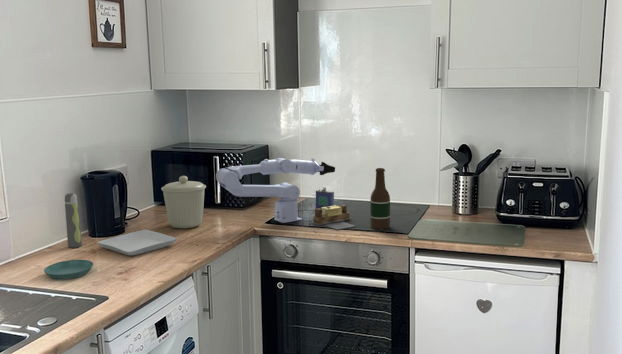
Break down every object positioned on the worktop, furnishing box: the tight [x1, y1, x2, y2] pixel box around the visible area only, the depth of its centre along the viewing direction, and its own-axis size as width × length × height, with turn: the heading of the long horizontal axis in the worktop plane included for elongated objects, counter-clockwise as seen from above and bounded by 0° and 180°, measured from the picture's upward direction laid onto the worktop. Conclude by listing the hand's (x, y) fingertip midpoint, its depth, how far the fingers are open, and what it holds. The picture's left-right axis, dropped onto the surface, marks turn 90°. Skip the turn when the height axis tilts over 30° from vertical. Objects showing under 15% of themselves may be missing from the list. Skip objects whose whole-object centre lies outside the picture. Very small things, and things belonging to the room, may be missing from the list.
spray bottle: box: [64, 193, 83, 249], centre depth 224 cm, size 5×5×20 cm
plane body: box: [312, 204, 351, 226], centre depth 255 cm, size 16×4×6 cm, turn 122°
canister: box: [161, 175, 207, 230], centre depth 251 cm, size 18×18×21 cm
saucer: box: [43, 259, 94, 281], centre depth 194 cm, size 15×15×3 cm
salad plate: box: [97, 229, 178, 257], centre depth 222 cm, size 21×21×3 cm
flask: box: [315, 187, 335, 209], centre depth 275 cm, size 9×3×11 cm, turn 61°
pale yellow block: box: [321, 204, 342, 217], centre depth 255 cm, size 7×5×4 cm
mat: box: [324, 221, 356, 231], centre depth 247 cm, size 9×9×1 cm
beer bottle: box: [369, 167, 391, 231], centre depth 242 cm, size 8×8×24 cm
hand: (330, 169), depth 265 cm, fingers open, 7 cm apart
